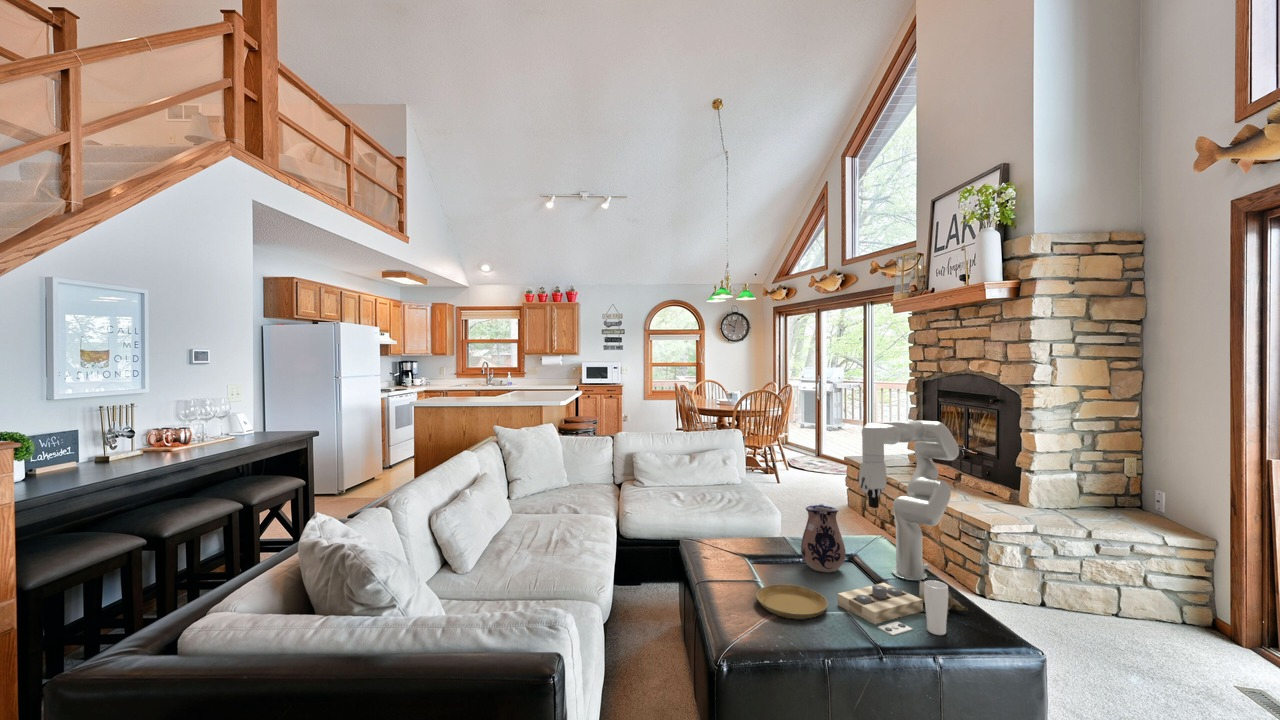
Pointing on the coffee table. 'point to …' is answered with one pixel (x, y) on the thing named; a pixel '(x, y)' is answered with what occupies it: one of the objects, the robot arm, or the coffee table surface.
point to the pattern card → (895, 628)
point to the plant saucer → (792, 601)
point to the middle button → (879, 592)
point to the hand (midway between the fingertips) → (873, 507)
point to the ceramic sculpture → (951, 602)
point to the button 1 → (864, 599)
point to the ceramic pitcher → (822, 540)
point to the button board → (880, 604)
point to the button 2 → (894, 591)
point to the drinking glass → (936, 606)
